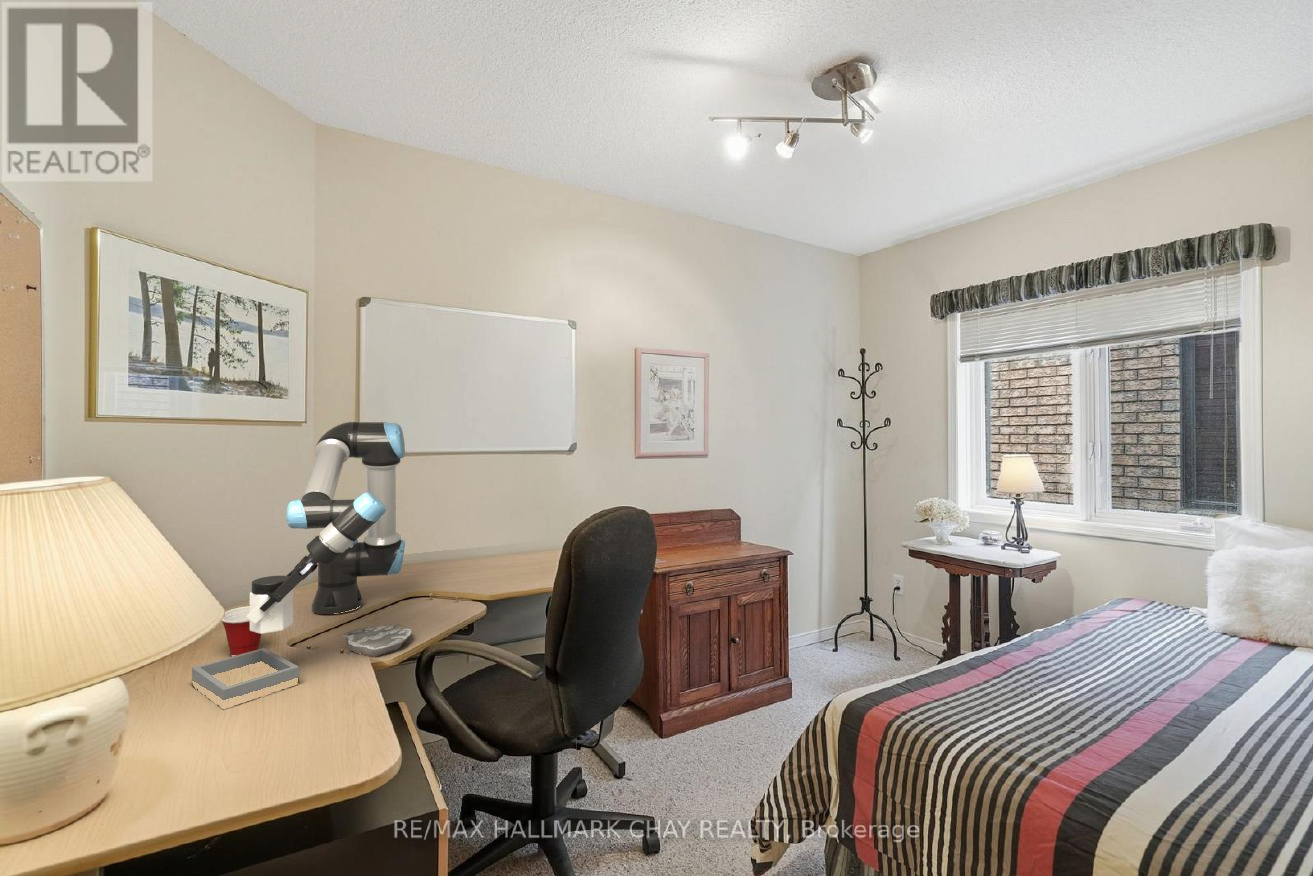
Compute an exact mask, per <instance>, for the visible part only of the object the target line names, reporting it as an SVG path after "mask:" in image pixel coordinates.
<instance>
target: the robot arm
mask: <svg viewBox="0 0 1313 876" xmlns="http://www.w3.org/2000/svg"><path fill="white" fill-rule="evenodd" d="M405 446H406V444H405V438H404V433H403V429H402V426H401V425H400V424H399V423H395V422H386V421H384V422H382V421H381V422H380V421H379V422H378V421H377V422H376V421H372V422H369V421H361V422H360V421H349V422H343V423H340V424H337V425H335V426H334V427H332V428H330V429H328V431H326V432H325V433H324V434H323V435H321V437H320V439H318V441H317V442H316V445H315V447H314V448H315V449H314V454H315V460H314V463H313V465H312V468H311V471H310V472H309V477H308V479H307V483H306V485H305V488H304V490H303V493H302V495H301V498H300V499H297V500H292V501H290V502H288V504H287V507H286V512H285V513H286V514H285V515H286V516H285V517H286V523H287V526H288V527H289V528H290V529H303V530H308V529H311V530H312V529H322V530H321V531H320V532H319V535H316V536H315V537H314V538H313V539H312V540H311V541H309V542H308V543H307V544H306V550H307V551H308V553H309V554H308V555H305V556H303V557H302V559H300V560H299V562H298V563H297V564H295V566H294V567H293V569H292V570H291V571H290V572H289V573H288V574H286V575H285V576H289V577H288V578H287V579H286V580H285V581H284V582H283V583H282V584H281V585H280V586H279V587H278V588H277V589H276V590H275V591H274V592H273V593H269V592H268V593H267V595H268V596H267V597H266V598H265V599H264V600H263V601H262V602H261V603H260V604H259V605H258V606H257V607H255V608H254V609H253V610H252V611H251V612H250V613H249V614H248V615H247V616H246V617H247V618H248V619H250V620H251V621H253V622H254V623H255V624H256V623H257V622H258V621H259V620H260V619H261V618H262V617H263V616H264V615H265V614H266V613H267V612H268V611H270V610H271V609H272V608H273V607H274V606H275V605H276V604H277V603H279V602H281V601H282V599H283V598H284V597H285V596H286V595H287V594H288V593H289V592H290V591H291V590H292V589H293V590H294V588H296V587H297V586H298V585H299V584H300V582H302V581H304V580H305V579H306V578H307V577H308V576H309V575H310V574H311V573H314V572H315V570H317V569H318V570H317V574H318V576H317V579H318V580H317V582H318V583H317V590H316V592H315V595H314V599H313V601H312V603H311V611H312V613H313V612H314V613H313V614H315V613H317V614H316V615H319V614H334V613H341V612H345V611H349V610H352V609H356V608H357V607H359V606H361V605H362V606H363V596H362V594H361V591H360V588H359V585H358V577H373V576H374V577H375V576H376V577H377V576H379V577H380V576H385V577H387V576H391V575H392V576H393V575H398V574H400V572H401V570H402V566H403V562H404V561H403V559H404V553H405V548H406V547H405V546H406V541H405V540H403V539H401V534H400V533H398V531H397V520H396V519H397V510H396V509H397V505H396V504H397V503H396V499H397V497H396V496H397V493H396V491H397V489H396V482H397V481H396V476H397V475H396V467H397V466H398V465H400V464H401V459H403V458H405V457H406V447H405ZM349 458H354V459H357V458H359V459H361V464H362V465H363V466H364V467H366V468H367V469H366V472H367V473H366V475H367V492H363V493H361V495H360V496H358V497H357V498H355V499H354V498H353V499H351V498H350V499H335V494H336V490H337V488H338V484H339V480H340V476H341V472H342V469H343V466H344V463H346V462H347V460H348V459H349ZM367 531H368V532H367ZM366 532H367V534H366V535H365V536H364V537H363V541H361V542H359V538H360V537H361V536H363V534H364V533H366ZM277 594H278V595H279V596H278V595H277Z"/></svg>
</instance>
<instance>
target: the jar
mask: <svg viewBox="0 0 1313 876" xmlns="http://www.w3.org/2000/svg"><path fill="white" fill-rule="evenodd" d="M288 577H289V576H286V575H268V576H264V577H260V578H256V579H253V581H251V591H250V592H249V606H250V612H251V611H252V610H253V609H254V608H255V607H257V606H258V605H259V604H260V603H261V602H262V601H263V600H264V599H265V598H266V597H267V596H268V595H267V593H268V592H269V593H273V592H274V591H275V590H276V589H277V588H278V587H279V586H280V585H281V584H282V583H283V582H284V581H285V580H286V579H287V578H288ZM277 595H278V594H277ZM278 596H279V595H278ZM293 624H294V588H293V589H292V590H291V591H290V592H289V593H288V594H287V595H286V596H285V597H284V598H283V599H282V601H281V602H279V603H277V604H276V605H275V606H274V607H273V608H272V609H271V610H270V611H268V612H267V613H266V614H265V615H264V616H263V617H262V618H261V619H260V620H259V621H258V622H257V623H256V624H255V623H254V622H253V621H251V620H250V631H253V632H256V633H260V634H261V635H264V634H269V633H276V632H281V631H282V632H283V631H285V630H286V629H287V628H289V627H290V626H292V625H293Z"/></svg>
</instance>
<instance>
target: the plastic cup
mask: <svg viewBox="0 0 1313 876" xmlns="http://www.w3.org/2000/svg"><path fill="white" fill-rule="evenodd" d="M249 613H250V605H246V606H241V607H240V606H239V607H237V608H232V609H229V610H227V611H225V617H224V618H223V619H222V620H220V621H221V622H222V624H223V627H224V630H225V635H226V639H227V644H228V648H229V654H230V656H231V655H240V654H244V653H247V652H251V651H255V650H258V649H259V647H260V642H261V640H262V639H261V637H262V634H260V633H256V632H253V631H250V619H248V618H247V617H246V616H247V615H248V614H249Z"/></svg>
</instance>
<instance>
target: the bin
mask: <svg viewBox="0 0 1313 876" xmlns="http://www.w3.org/2000/svg"><path fill="white" fill-rule="evenodd" d="M260 661H262V662H264V663H265V664H268V665H269V666H270V667H272V668H274V669H276V670H278V671H277V672H274V673H271V674H267V675H264V676H261V677H258V678H254V679H251V680H248V681H245V682H241V683H238V684H235V685H232V686H229V687H227V686H226V685H225V684H223V683H222V682H220V681H219V680H217V679H216V678H214V677H213V676H212V675H215V674H217V673H222V672H226V671H229V670H232V669H235V668H241V667H243V666H246V665H249V664H255V663H257V662H260ZM294 678H299V679H300V667H299V666H298V665H297V664H294V663H293V662H291V661H289V660H288V659H285V658H284V657H282V656H280V655H279V654H276V653H275V652H273V651H271V650H269V649H268V648H266V647H263V648H258V650H255V651H251V652H247V653H244V654H240V655H236V656H233V657H232V656H229V657H227V658H226V657H225V658H223V659H218V660H214V661H212V662H208V663H204V664H201V665H197V666H194V667H191V682H192V681H194V682H196V683H198V684H199V685H200V686H202V687H204V688H206V689H207V690H209V691H211V692H213V693H214V694H215V695H216V696H219V697H220V698H221V699H222V700H226V699H229V698H233V697H236V696H242V695H244V694H248V693H250V692H253V691H258V690H261V689H263V688H266V687H271V686H274V685H277V684H280V683H281V682H286V681H289V680H292V679H294Z"/></svg>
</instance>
